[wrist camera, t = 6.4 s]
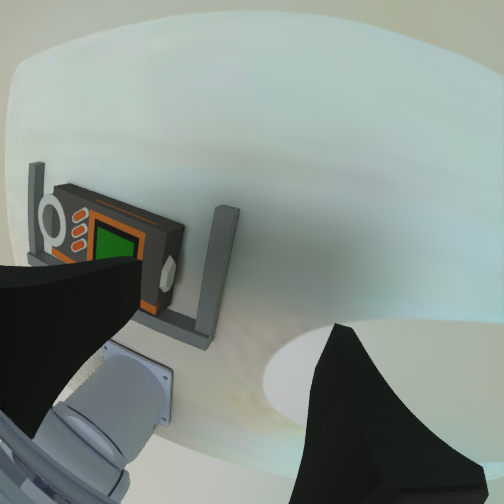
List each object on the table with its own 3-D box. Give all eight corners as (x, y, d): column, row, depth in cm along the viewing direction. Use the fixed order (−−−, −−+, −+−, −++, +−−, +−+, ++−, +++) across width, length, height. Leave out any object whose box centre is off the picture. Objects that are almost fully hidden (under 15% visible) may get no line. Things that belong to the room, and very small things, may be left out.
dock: (213, 339, 22) (204, 352, 21) (38, 258, 26) (26, 264, 24) (239, 209, 19) (230, 214, 17) (38, 162, 22) (24, 164, 20)
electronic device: (37, 180, 20) (168, 236, 17) (61, 176, 23) (191, 226, 20) (36, 250, 23) (155, 324, 20) (57, 241, 25) (176, 306, 23)
